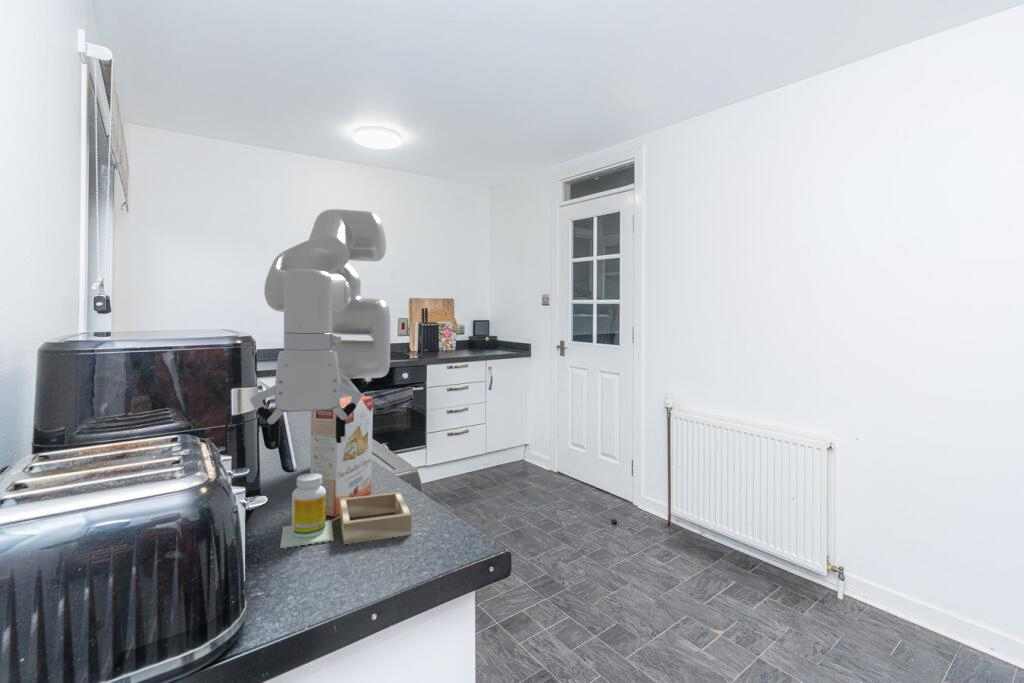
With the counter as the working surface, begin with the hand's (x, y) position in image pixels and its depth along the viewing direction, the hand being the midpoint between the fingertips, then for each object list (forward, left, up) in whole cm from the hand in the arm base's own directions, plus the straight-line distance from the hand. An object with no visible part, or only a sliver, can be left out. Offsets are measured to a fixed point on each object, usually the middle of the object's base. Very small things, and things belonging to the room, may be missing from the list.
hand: (308, 443), depth 82 cm
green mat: (0, 0, -16) cm, 16 cm away
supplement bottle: (0, 0, -16) cm, 16 cm away
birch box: (0, +11, -16) cm, 19 cm away
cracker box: (-13, +6, -16) cm, 21 cm away
